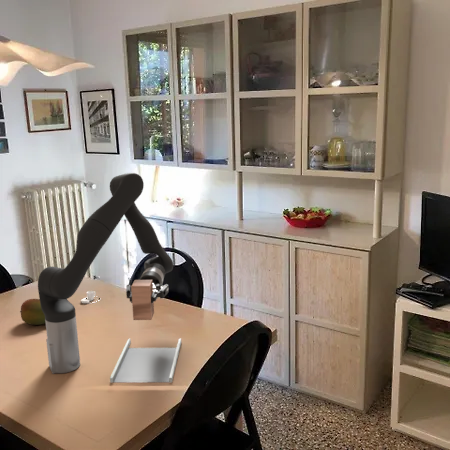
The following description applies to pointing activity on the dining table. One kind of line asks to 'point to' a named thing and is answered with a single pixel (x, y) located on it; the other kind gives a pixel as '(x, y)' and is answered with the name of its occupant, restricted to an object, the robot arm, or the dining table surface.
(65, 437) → the dining table surface
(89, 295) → the teacup and saucer
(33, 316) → the fruit
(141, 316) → the terracotta block
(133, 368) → the track
